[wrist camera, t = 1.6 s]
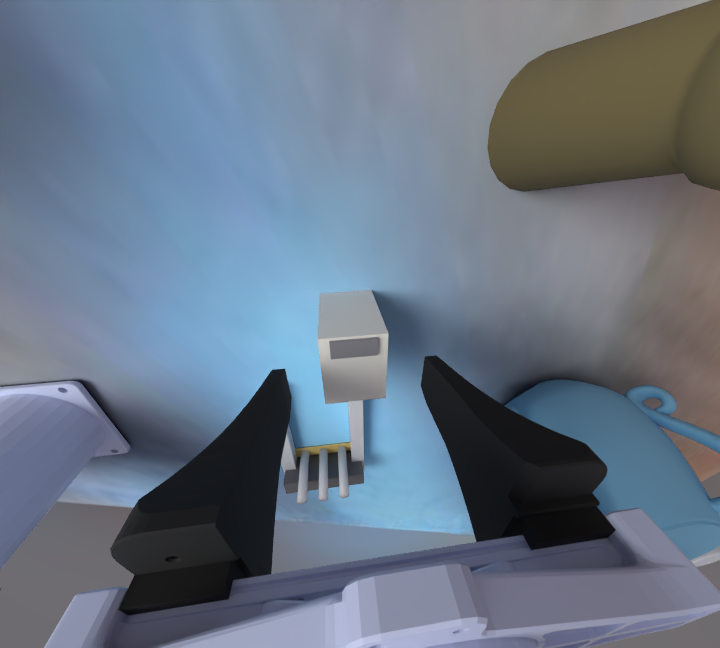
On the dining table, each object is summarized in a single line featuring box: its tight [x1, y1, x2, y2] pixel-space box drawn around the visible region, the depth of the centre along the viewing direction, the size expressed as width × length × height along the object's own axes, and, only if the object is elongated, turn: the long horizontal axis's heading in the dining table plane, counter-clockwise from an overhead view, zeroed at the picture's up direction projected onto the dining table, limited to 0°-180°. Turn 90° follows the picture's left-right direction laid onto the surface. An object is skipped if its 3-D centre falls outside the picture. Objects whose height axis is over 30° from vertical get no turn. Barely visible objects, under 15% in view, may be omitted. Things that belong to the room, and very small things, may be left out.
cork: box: [488, 0, 720, 191], centre depth 9 cm, size 6×6×11 cm
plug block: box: [318, 290, 389, 404], centre depth 16 cm, size 4×4×6 cm
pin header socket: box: [281, 400, 364, 504], centre depth 22 cm, size 8×12×4 cm, turn 1°
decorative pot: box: [504, 380, 720, 560], centre depth 22 cm, size 16×16×14 cm
